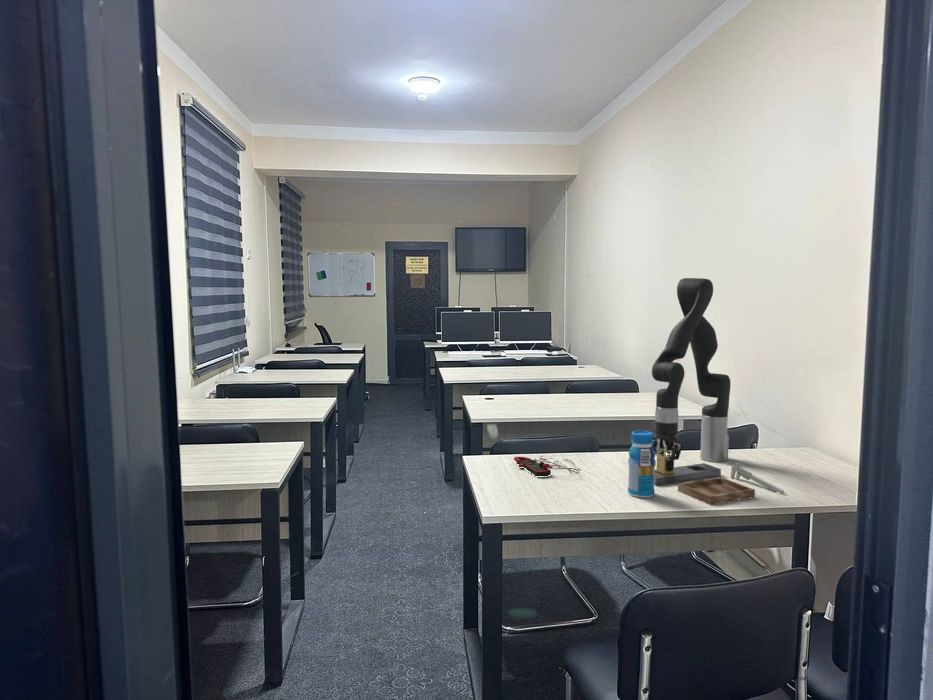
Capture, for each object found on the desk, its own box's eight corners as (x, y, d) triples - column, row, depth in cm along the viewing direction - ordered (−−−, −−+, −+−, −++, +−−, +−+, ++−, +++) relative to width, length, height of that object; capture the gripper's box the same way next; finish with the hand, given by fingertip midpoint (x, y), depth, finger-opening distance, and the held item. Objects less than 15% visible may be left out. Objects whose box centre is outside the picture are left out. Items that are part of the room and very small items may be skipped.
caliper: (730, 478, 208) (731, 461, 208) (732, 478, 209) (733, 460, 208) (785, 496, 190) (786, 477, 190) (787, 495, 191) (788, 476, 190)
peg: (665, 477, 209) (666, 453, 208) (673, 480, 205) (674, 456, 204) (656, 478, 208) (656, 454, 207) (664, 481, 204) (664, 457, 203)
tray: (720, 484, 201) (720, 477, 201) (754, 497, 188) (754, 489, 188) (677, 490, 195) (678, 483, 195) (710, 505, 182) (710, 496, 182)
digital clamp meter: (537, 470, 205) (509, 451, 228) (536, 483, 205) (509, 463, 229) (597, 463, 212) (564, 446, 236) (597, 476, 213) (564, 457, 236)
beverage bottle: (622, 494, 191) (624, 433, 189) (634, 488, 198) (635, 428, 196) (648, 500, 186) (649, 437, 184) (659, 493, 192) (660, 432, 190)
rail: (703, 469, 218) (704, 463, 218) (720, 476, 210) (720, 469, 210) (640, 478, 208) (640, 471, 207) (655, 485, 200) (656, 478, 200)
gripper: (690, 423, 199) (688, 473, 201) (661, 415, 212) (660, 462, 214) (672, 425, 196) (670, 476, 198) (644, 416, 210) (642, 464, 211)
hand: (665, 468), depth 206 cm, fingers closed on peg, 4 cm apart
